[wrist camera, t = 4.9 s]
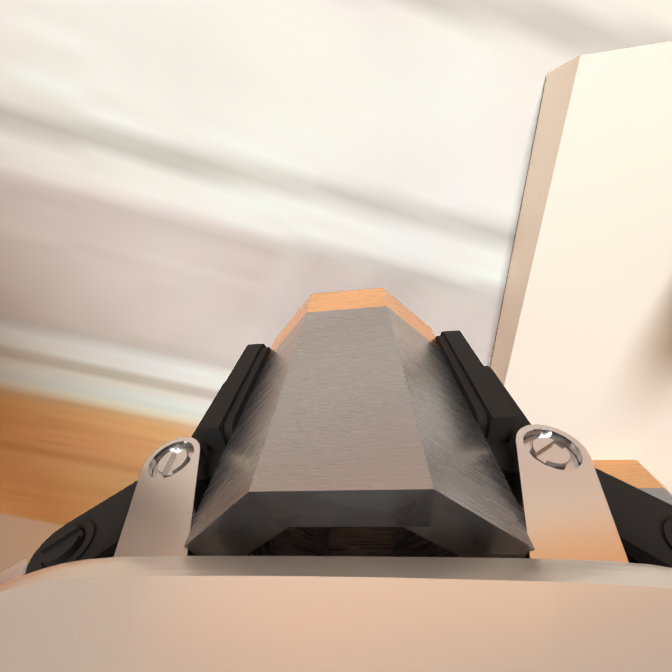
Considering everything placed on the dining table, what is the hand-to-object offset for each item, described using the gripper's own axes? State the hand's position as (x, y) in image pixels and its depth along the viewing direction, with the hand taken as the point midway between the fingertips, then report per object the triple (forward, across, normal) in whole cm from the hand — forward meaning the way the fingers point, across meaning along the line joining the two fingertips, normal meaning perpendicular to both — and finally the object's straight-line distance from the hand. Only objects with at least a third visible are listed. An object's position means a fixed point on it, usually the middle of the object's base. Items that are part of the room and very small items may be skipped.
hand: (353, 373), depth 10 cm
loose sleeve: (+1, 0, 0) cm, 1 cm away
